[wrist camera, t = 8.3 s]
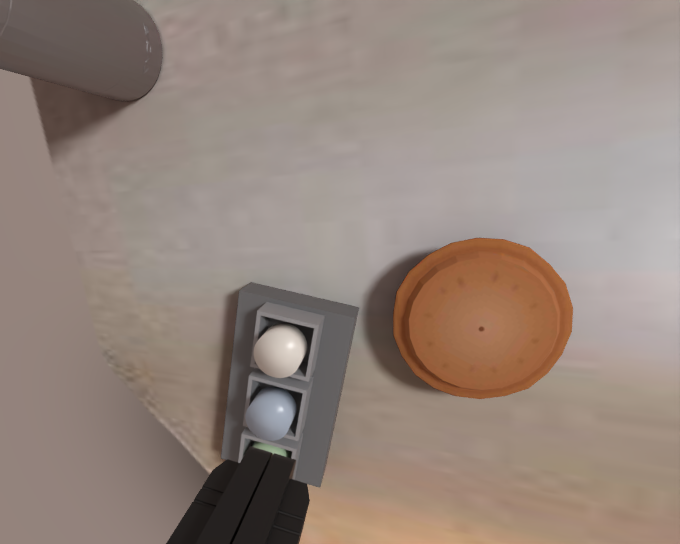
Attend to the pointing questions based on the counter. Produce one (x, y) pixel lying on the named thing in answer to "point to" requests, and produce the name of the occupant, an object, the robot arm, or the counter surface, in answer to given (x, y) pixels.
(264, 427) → the bluegrey button
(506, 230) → the counter surface
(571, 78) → the counter surface
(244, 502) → the robot arm
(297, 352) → the white button
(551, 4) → the counter surface
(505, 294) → the pie
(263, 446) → the green button
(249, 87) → the counter surface
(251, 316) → the button panel
